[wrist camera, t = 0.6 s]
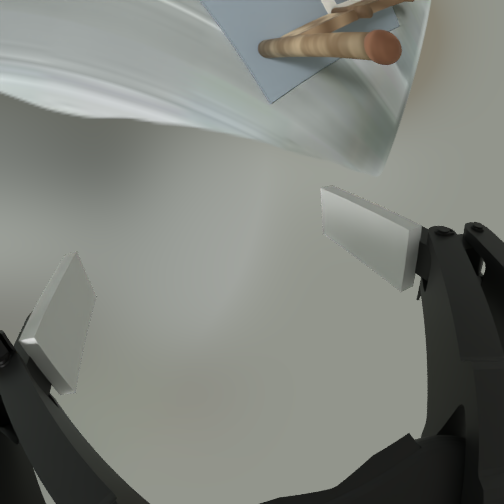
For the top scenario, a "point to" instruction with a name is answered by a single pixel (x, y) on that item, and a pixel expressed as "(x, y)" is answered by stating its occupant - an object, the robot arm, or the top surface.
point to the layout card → (275, 26)
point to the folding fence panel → (334, 41)
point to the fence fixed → (368, 7)
